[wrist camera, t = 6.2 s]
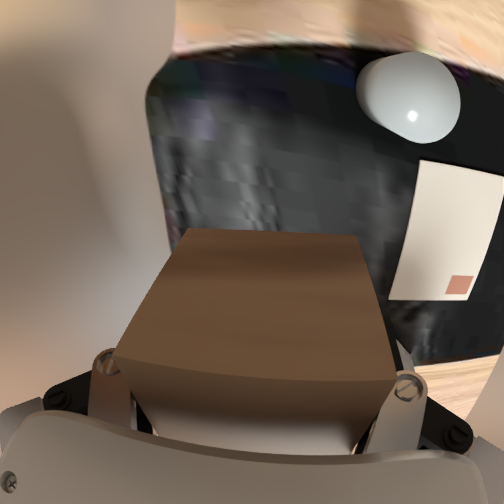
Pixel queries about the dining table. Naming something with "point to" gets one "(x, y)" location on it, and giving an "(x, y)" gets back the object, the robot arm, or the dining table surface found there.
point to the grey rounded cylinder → (410, 96)
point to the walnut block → (260, 343)
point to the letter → (447, 232)
